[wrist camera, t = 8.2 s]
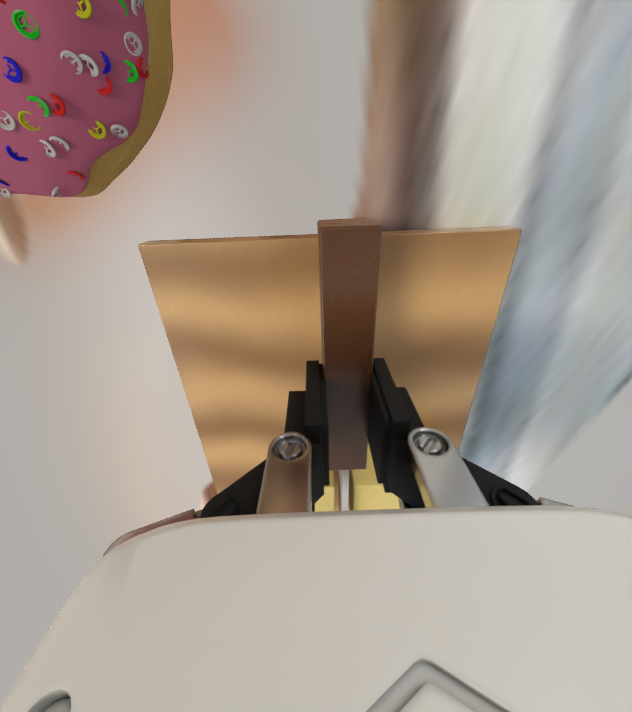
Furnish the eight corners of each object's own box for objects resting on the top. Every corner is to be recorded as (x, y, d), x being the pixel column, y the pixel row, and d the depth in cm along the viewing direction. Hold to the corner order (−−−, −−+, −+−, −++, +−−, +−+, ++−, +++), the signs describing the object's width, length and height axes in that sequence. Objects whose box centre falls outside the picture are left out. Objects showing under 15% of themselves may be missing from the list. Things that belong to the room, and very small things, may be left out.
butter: (347, 443, 18) (353, 486, 16) (445, 440, 18) (467, 482, 16) (346, 485, 20) (351, 529, 18) (434, 482, 20) (452, 526, 18)
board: (148, 240, 13) (136, 244, 12) (508, 226, 13) (522, 228, 12) (234, 525, 24) (231, 538, 23) (430, 519, 24) (435, 532, 23)
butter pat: (299, 445, 18) (297, 488, 16) (331, 444, 18) (334, 487, 16) (303, 487, 20) (301, 531, 18) (332, 486, 20) (335, 530, 18)
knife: (317, 220, 11) (318, 227, 8) (367, 217, 11) (382, 224, 8) (327, 539, 20) (329, 583, 18) (354, 538, 20) (359, 582, 18)
